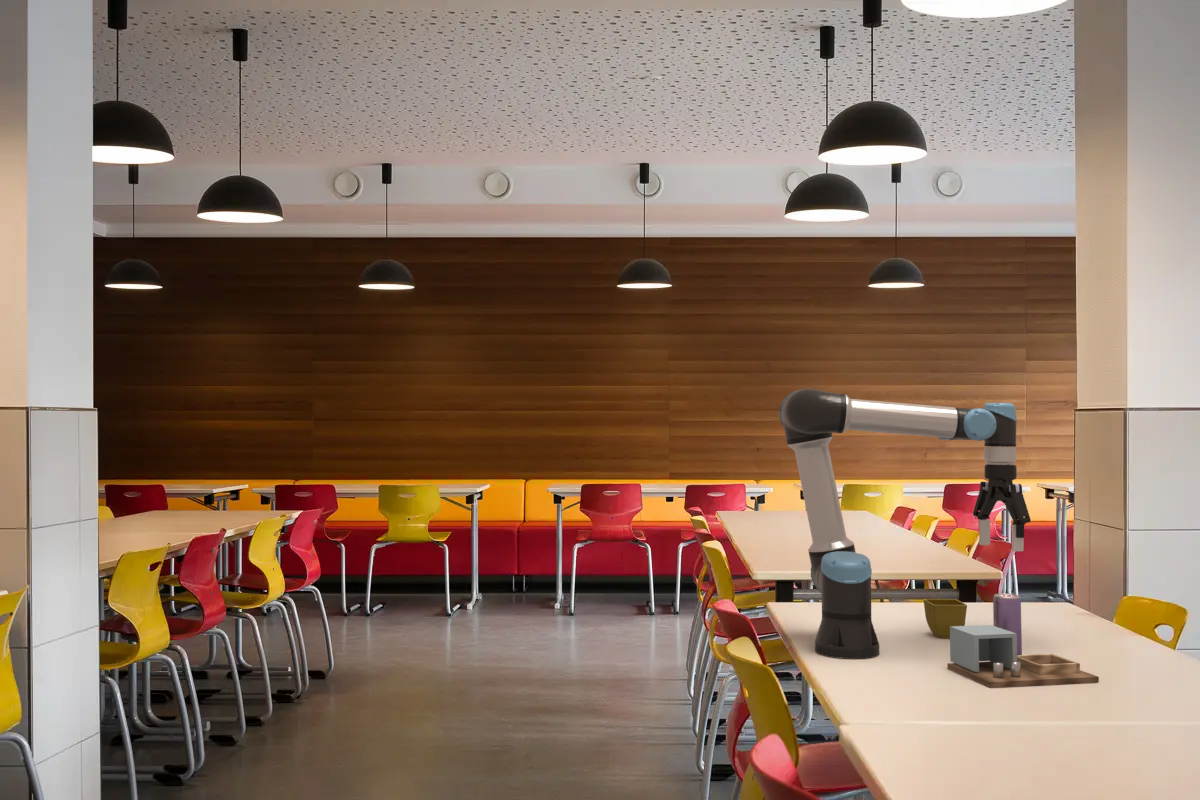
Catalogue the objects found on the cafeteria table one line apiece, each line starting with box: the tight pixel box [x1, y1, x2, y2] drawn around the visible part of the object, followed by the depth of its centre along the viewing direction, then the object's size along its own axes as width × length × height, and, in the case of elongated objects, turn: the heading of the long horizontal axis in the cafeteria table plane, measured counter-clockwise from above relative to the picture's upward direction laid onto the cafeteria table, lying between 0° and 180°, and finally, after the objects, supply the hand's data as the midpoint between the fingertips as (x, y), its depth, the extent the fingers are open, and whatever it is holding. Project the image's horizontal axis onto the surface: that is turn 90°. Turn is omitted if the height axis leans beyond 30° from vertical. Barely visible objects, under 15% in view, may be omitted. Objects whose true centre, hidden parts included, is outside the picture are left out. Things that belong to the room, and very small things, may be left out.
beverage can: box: [992, 593, 1023, 655], centre depth 228 cm, size 6×6×15 cm
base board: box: [946, 653, 1100, 689], centre depth 214 cm, size 25×17×3 cm
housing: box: [949, 624, 1017, 672], centre depth 217 cm, size 10×10×8 cm
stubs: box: [993, 661, 1021, 678], centre depth 208 cm, size 6×2×3 cm, turn 100°
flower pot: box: [923, 598, 968, 639], centre depth 256 cm, size 9×9×9 cm
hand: (1000, 548), depth 248 cm, fingers open, 13 cm apart
